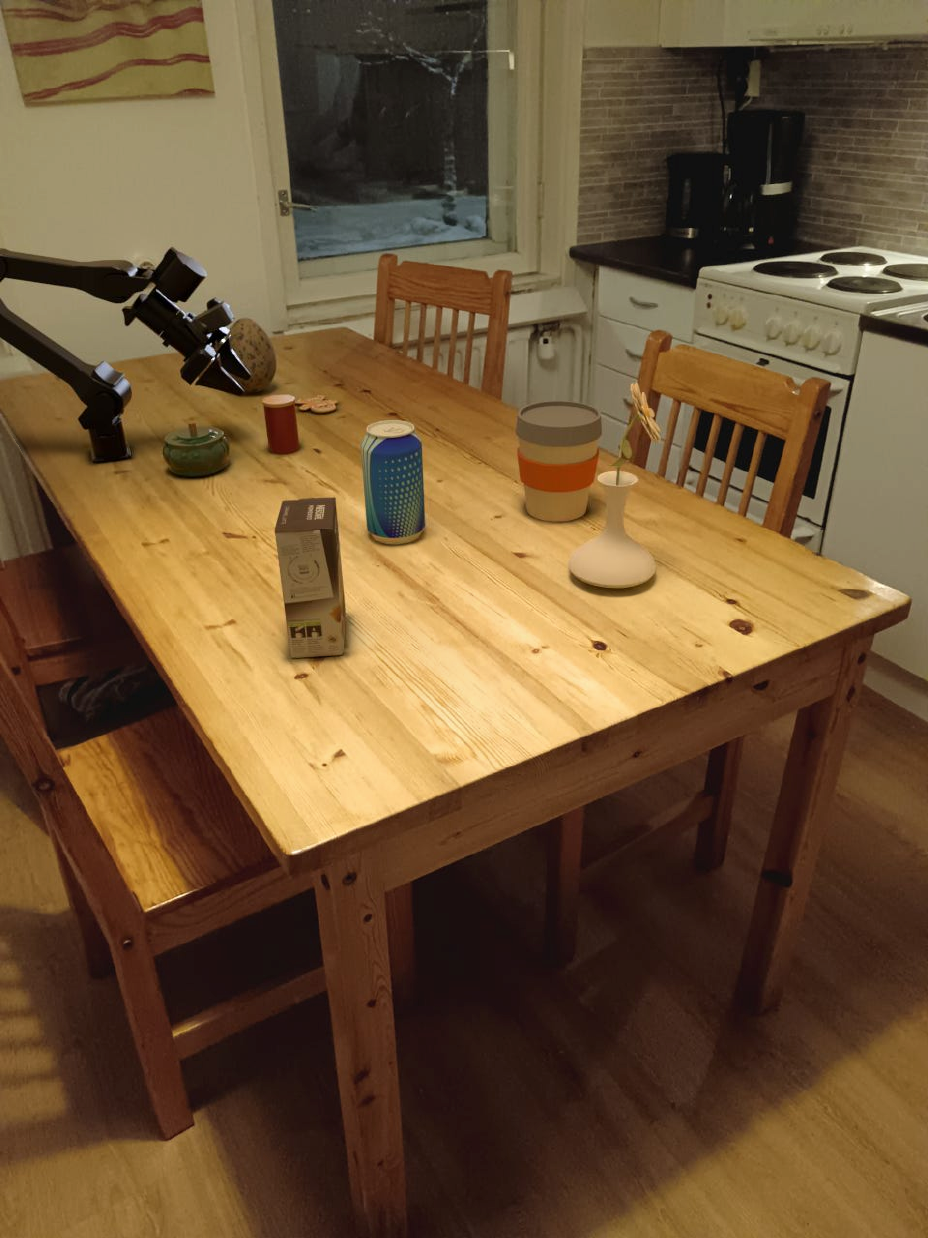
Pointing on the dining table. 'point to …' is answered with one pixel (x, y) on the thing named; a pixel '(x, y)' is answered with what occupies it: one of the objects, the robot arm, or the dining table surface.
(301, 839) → the dining table surface
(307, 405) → the cookie
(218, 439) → the lidded pot
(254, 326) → the decorative egg
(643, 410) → the flower in vase
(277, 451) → the tea canister
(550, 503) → the reusable coffee cup
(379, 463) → the beer can
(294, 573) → the coffee box
